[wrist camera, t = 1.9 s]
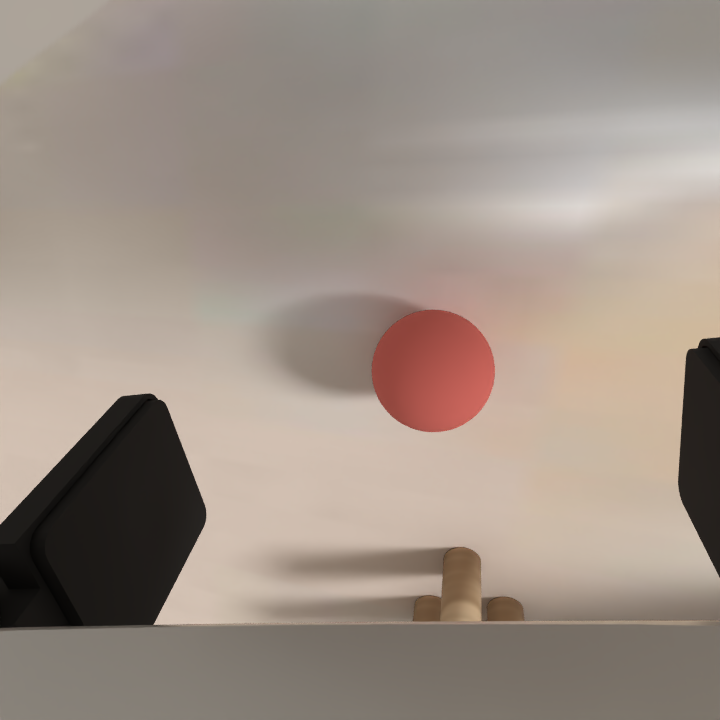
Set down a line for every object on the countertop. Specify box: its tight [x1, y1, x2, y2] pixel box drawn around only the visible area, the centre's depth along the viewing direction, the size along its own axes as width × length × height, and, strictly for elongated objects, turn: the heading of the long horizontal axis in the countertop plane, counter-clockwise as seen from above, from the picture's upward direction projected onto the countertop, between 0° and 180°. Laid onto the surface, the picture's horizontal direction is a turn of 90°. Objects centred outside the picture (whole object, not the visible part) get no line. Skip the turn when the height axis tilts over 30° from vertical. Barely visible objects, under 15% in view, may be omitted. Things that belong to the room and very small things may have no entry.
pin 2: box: [487, 597, 524, 621], centre depth 37 cm, size 2×2×8 cm
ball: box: [372, 310, 495, 432], centre depth 30 cm, size 6×6×6 cm
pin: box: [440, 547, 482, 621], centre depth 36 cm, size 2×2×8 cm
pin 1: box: [413, 596, 441, 622], centre depth 38 cm, size 2×2×8 cm
